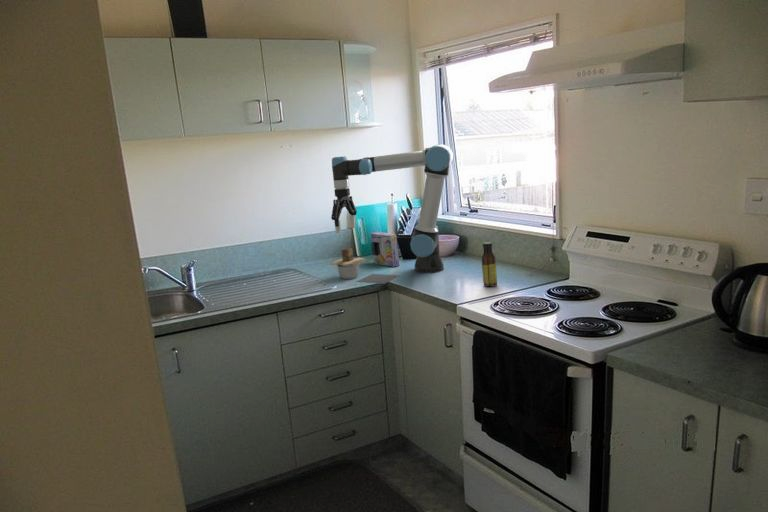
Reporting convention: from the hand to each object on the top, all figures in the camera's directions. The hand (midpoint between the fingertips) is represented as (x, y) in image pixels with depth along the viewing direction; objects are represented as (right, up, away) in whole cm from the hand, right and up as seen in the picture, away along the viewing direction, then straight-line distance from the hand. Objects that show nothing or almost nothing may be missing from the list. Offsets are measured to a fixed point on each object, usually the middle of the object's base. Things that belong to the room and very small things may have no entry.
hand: (345, 230), depth 290 cm
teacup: (+1, -24, +5) cm, 25 cm away
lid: (+1, -16, +3) cm, 17 cm away
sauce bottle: (+67, -26, -29) cm, 78 cm away
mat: (+16, -24, -3) cm, 30 cm away
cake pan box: (+20, -18, +28) cm, 39 cm away
